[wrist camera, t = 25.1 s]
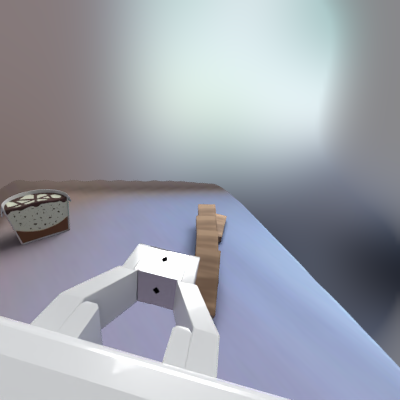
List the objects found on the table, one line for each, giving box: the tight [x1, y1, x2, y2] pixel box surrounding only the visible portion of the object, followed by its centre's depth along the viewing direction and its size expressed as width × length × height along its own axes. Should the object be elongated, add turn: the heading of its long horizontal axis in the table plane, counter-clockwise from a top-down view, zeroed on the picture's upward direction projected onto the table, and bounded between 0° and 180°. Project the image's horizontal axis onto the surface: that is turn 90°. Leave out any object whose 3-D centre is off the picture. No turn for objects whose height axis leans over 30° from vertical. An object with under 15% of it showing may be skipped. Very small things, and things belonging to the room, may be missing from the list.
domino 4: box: [195, 247, 221, 318], centre depth 37 cm, size 2×5×12 cm
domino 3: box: [195, 229, 218, 256], centre depth 43 cm, size 2×5×12 cm
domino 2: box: [196, 216, 216, 237], centre depth 49 cm, size 2×5×12 cm
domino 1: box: [198, 204, 217, 231], centre depth 54 cm, size 2×5×12 cm
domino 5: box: [216, 214, 227, 242], centre depth 59 cm, size 2×5×12 cm
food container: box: [1, 189, 71, 245], centre depth 46 cm, size 12×6×10 cm, turn 138°
